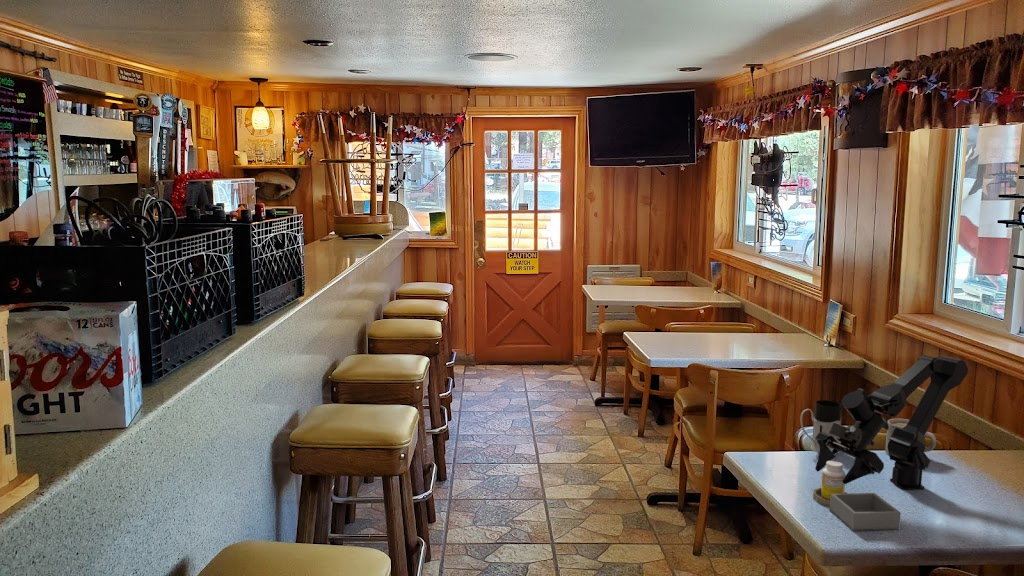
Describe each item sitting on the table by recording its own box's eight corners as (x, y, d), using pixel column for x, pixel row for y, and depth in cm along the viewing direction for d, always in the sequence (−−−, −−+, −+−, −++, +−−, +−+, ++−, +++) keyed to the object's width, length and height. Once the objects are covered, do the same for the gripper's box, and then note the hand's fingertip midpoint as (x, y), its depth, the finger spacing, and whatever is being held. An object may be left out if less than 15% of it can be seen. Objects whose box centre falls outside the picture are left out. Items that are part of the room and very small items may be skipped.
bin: (873, 509, 194) (874, 492, 193) (899, 530, 182) (900, 512, 182) (829, 510, 193) (830, 493, 192) (852, 531, 182) (854, 513, 181)
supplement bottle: (828, 494, 203) (830, 457, 202) (847, 501, 199) (850, 464, 197) (816, 499, 200) (818, 462, 199) (836, 506, 196) (838, 468, 194)
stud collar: (840, 492, 204) (840, 487, 204) (857, 507, 195) (858, 501, 195) (807, 493, 204) (807, 488, 203) (823, 507, 195) (823, 502, 194)
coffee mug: (880, 454, 234) (883, 423, 232) (890, 446, 241) (893, 416, 239) (928, 465, 225) (931, 433, 223) (937, 457, 232) (940, 425, 231)
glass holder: (846, 453, 235) (850, 406, 233) (807, 457, 231) (811, 409, 229) (827, 443, 243) (830, 398, 241) (789, 447, 239) (792, 401, 237)
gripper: (822, 403, 206) (788, 446, 204) (879, 423, 189) (842, 471, 186) (842, 427, 210) (809, 470, 208) (899, 449, 193) (864, 497, 191)
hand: (829, 476), depth 198 cm, fingers open, 9 cm apart
